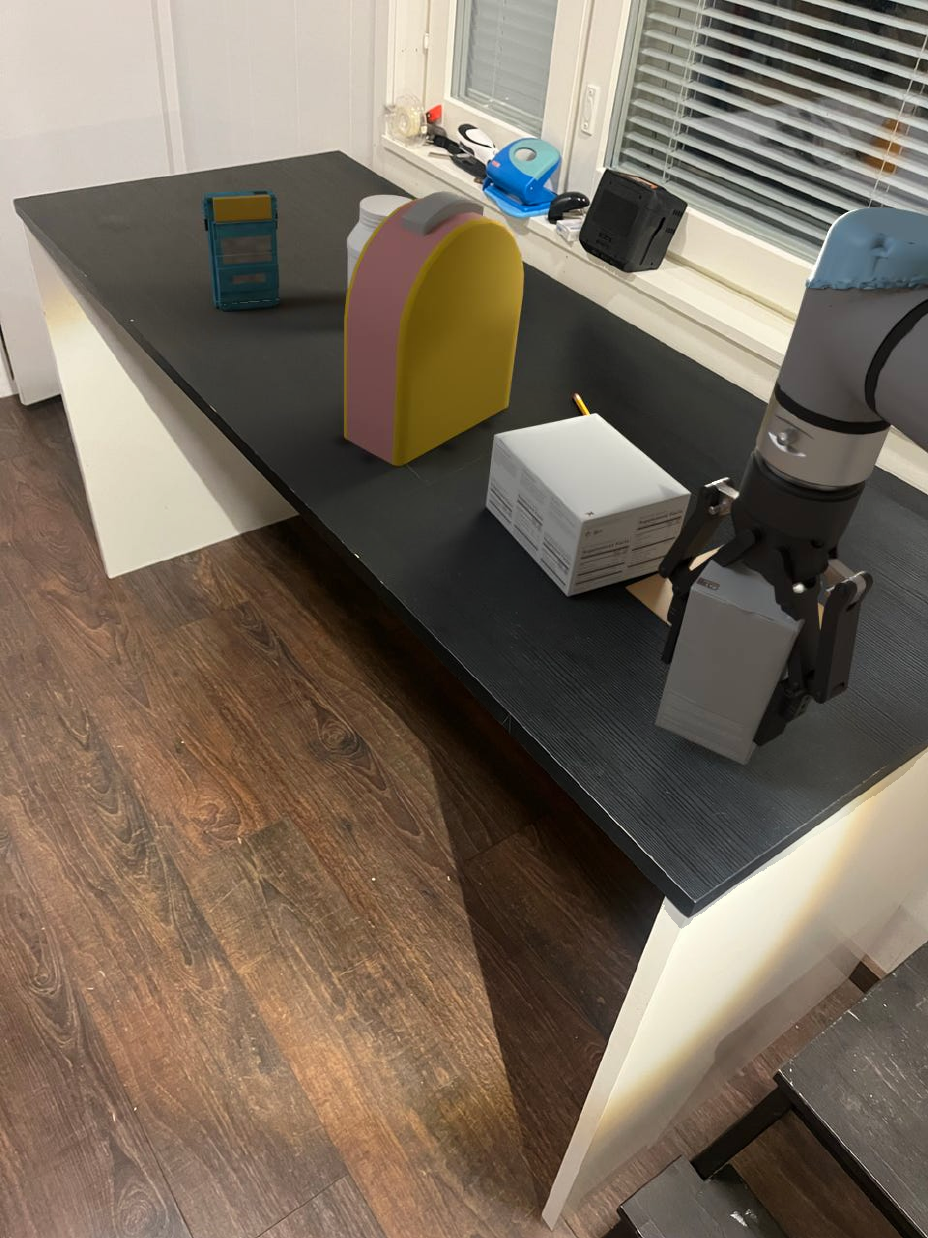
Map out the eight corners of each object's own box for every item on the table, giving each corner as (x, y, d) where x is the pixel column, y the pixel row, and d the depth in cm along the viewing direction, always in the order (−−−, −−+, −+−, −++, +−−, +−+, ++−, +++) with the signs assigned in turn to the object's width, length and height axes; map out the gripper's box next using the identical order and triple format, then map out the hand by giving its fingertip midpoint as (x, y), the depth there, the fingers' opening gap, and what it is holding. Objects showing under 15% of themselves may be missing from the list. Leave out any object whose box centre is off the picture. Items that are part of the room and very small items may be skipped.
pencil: (578, 398, 124) (578, 393, 123) (611, 454, 114) (612, 449, 114) (572, 398, 124) (573, 393, 123) (605, 454, 114) (606, 449, 114)
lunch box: (456, 378, 124) (474, 165, 107) (510, 405, 120) (539, 188, 103) (341, 436, 112) (341, 204, 94) (398, 467, 108) (409, 232, 90)
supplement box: (673, 568, 98) (695, 492, 92) (566, 600, 93) (582, 522, 87) (583, 481, 109) (598, 409, 103) (483, 506, 104) (492, 431, 97)
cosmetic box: (769, 721, 81) (834, 578, 70) (740, 776, 76) (805, 631, 65) (677, 678, 83) (726, 534, 73) (644, 728, 79) (691, 582, 68)
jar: (374, 334, 132) (377, 224, 122) (334, 308, 137) (334, 200, 127) (438, 315, 138) (446, 209, 128) (397, 291, 143) (402, 187, 133)
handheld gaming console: (277, 295, 138) (273, 188, 128) (285, 308, 135) (281, 199, 125) (210, 301, 135) (200, 191, 125) (216, 314, 132) (206, 203, 122)
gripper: (652, 397, 67) (595, 629, 82) (920, 574, 54) (795, 811, 69) (725, 374, 70) (658, 601, 85) (993, 535, 58) (858, 769, 73)
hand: (719, 695), depth 77 cm, fingers closed on cosmetic box, 10 cm apart
